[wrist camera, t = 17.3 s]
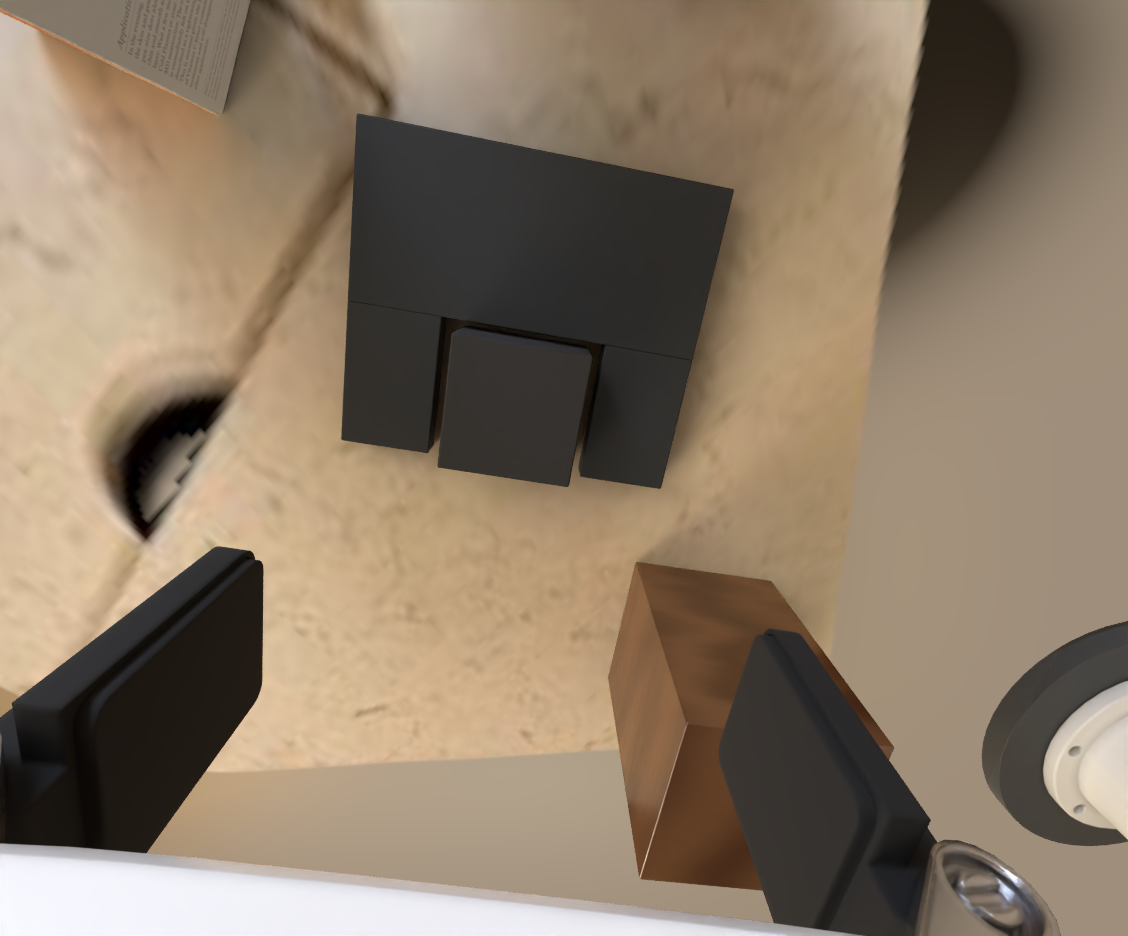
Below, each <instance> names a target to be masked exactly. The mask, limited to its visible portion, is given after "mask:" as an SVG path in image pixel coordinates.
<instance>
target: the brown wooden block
mask: <svg viewBox="0 0 1128 936" xmlns="http://www.w3.org/2000/svg"><path fill="white" fill-rule="evenodd" d="M769 628H770V629H777V630H784V631H791V632H797V633H799V634H800V635H801V636H802V637H803V638H804V639H805V641H806V642H807V644H808V645H809V647H810V648H811V649H812V651H813V652H814V654H815V655H816V657H817V658H818V659H819V661H820V662H821V664H822V665H823V667H824V668H825V669H826V671H827V672H828V674H829V675H830V677H831V678H832V680H833V681H834V682H835V684H836V685H837V687H838V688H839V690H840V691H841V692H842V694H843V695H844V697H845V698H846V700H847V701H848V702H849V704H850V705H851V707H852V708H853V710H854V711H855V712H856V714H857V715H858V717H859V718H860V720H861V721H862V722H863V724H864V725H865V727H866V728H867V730H868V731H869V733H870V734H871V735H872V737H873V738H874V740H875V741H876V743H877V744H878V745H879V747H880V748H881V750H882V751H883V753H884V754H885V755H886V757H887V758H888V760H889V758H890V756H891V754H892V752H893V750H894V746H893V745H892V744H891V743H890V741H889V740H888V738H887V737H886V736H885V734H884V733H883V732H882V730H881V729H880V728H879V726H878V725H877V724H876V722H875V721H874V719H873V718H872V717H871V715H870V714H869V713H868V712H867V710H866V709H865V707H864V706H863V705H862V703H861V702H860V701H859V699H858V698H857V697H856V695H855V694H854V693H853V691H852V690H851V689H850V687H849V686H848V684H847V683H846V682H845V680H844V679H843V678H842V676H841V675H840V674H839V672H838V671H837V670H836V668H835V667H834V666H833V664H832V663H831V661H830V660H829V659H828V657H827V656H826V655H825V653H824V652H823V651H822V649H821V648H820V647H819V645H818V644H817V643H816V641H815V640H814V639H813V637H812V636H811V635H810V633H809V632H808V630H807V629H806V628H805V626H804V625H803V624H802V622H801V621H800V620H799V618H798V617H797V616H796V614H795V613H794V612H793V610H792V609H791V608H790V606H789V605H788V603H787V602H786V601H785V599H784V598H783V597H782V595H781V594H780V593H779V591H778V590H777V589H776V587H775V586H774V585H773V583H772V582H771V581H765V580H758V579H751V578H744V577H737V576H729V575H722V574H715V573H708V572H701V571H694V570H687V569H680V568H673V567H666V566H659V565H652V564H645V563H638V562H636V564H635V568H634V572H633V577H632V581H631V585H630V589H629V593H628V597H627V602H626V606H625V610H624V614H623V618H622V622H621V627H620V631H619V635H618V639H617V643H616V648H615V652H614V656H613V660H612V664H611V668H610V673H609V677H608V679H609V686H610V692H611V698H612V705H613V711H614V718H615V724H616V731H617V737H618V744H619V750H620V756H621V763H622V769H623V776H624V782H625V789H626V795H627V801H628V808H629V814H630V820H631V827H632V834H633V840H634V847H635V853H636V860H637V865H638V872H639V878H640V879H644V880H655V881H666V882H676V883H688V884H698V885H709V886H720V887H730V888H742V889H753V890H762V891H763V889H762V886H761V883H760V880H759V877H758V875H757V872H756V869H755V866H754V863H753V860H752V857H751V854H750V851H749V848H748V845H747V842H746V839H745V836H744V833H743V830H742V827H741V825H740V822H739V819H738V816H737V813H736V810H735V807H734V804H733V801H732V798H731V795H730V792H729V789H728V786H727V783H726V780H725V778H724V775H723V772H722V769H721V766H720V762H719V743H720V740H721V737H722V734H723V731H724V728H725V725H726V722H727V719H728V716H729V713H730V710H731V707H732V704H733V701H734V698H735V694H736V691H737V688H738V685H739V682H740V679H741V676H742V673H743V670H744V667H745V664H746V661H747V658H748V655H749V652H750V649H751V646H752V643H753V641H754V638H755V637H756V636H757V635H763V633H764V632H765V631H766V630H767V629H769Z"/></svg>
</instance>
